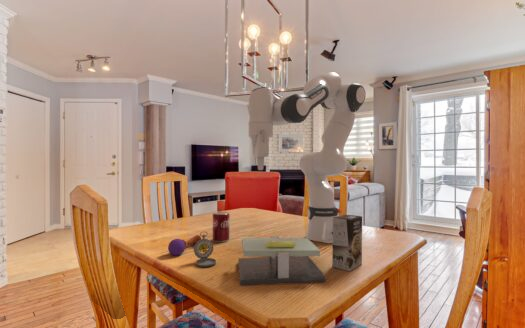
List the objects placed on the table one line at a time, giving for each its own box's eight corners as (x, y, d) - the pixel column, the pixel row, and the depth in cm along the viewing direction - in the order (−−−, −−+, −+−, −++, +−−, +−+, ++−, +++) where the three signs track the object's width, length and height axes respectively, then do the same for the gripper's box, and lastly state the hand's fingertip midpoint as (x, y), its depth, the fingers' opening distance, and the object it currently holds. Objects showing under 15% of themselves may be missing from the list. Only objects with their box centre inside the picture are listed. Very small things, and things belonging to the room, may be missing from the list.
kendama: (205, 233, 120) (181, 242, 100) (202, 247, 119) (178, 259, 100) (192, 230, 121) (166, 238, 102) (189, 244, 121) (163, 254, 101)
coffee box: (350, 272, 87) (350, 219, 87) (331, 266, 92) (331, 217, 92) (362, 264, 94) (363, 215, 94) (344, 260, 98) (345, 213, 99)
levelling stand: (308, 260, 98) (308, 235, 98) (325, 282, 80) (325, 251, 80) (238, 262, 95) (238, 237, 95) (240, 285, 77) (240, 254, 77)
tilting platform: (307, 242, 96) (307, 232, 96) (319, 255, 82) (320, 243, 82) (241, 242, 93) (242, 231, 93) (243, 256, 79) (243, 243, 79)
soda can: (230, 238, 126) (231, 211, 127) (227, 243, 119) (227, 214, 119) (215, 238, 127) (215, 211, 127) (210, 242, 120) (210, 214, 120)
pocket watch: (206, 269, 89) (206, 237, 89) (187, 264, 94) (187, 234, 94) (223, 261, 96) (223, 232, 96) (205, 257, 101) (205, 229, 101)
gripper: (273, 128, 93) (273, 170, 93) (266, 135, 113) (265, 169, 113) (254, 128, 92) (254, 170, 92) (250, 134, 113) (250, 169, 113)
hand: (260, 170), depth 103 cm, fingers closed
